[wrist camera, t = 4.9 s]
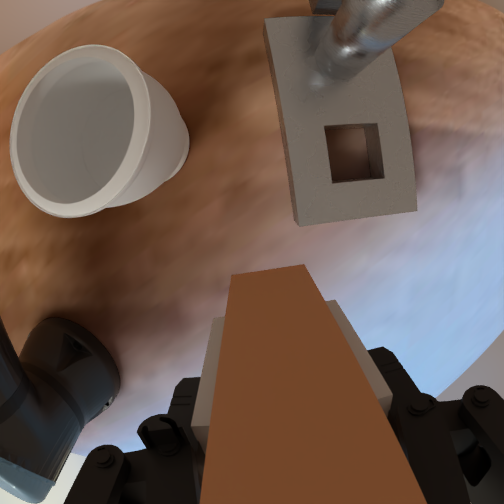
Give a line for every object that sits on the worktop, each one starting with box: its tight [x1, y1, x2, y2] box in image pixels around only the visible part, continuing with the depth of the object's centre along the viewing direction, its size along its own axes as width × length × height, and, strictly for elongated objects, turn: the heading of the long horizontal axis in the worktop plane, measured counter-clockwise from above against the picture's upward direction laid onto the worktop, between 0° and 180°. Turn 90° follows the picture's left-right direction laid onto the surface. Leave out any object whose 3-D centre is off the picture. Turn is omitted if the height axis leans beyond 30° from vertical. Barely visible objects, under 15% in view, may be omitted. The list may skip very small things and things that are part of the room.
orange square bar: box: [200, 264, 427, 504], centre depth 10 cm, size 4×4×15 cm
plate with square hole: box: [263, 0, 444, 227], centre depth 18 cm, size 12×22×18 cm, turn 9°
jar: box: [10, 45, 189, 218], centre depth 20 cm, size 11×10×15 cm
